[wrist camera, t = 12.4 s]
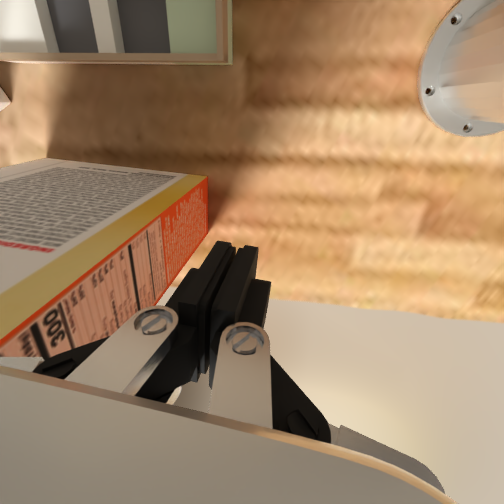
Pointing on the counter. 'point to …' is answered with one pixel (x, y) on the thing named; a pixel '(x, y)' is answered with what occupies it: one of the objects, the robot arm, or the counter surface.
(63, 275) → the cereal box
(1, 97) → the milk carton
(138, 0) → the board
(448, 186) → the counter surface
